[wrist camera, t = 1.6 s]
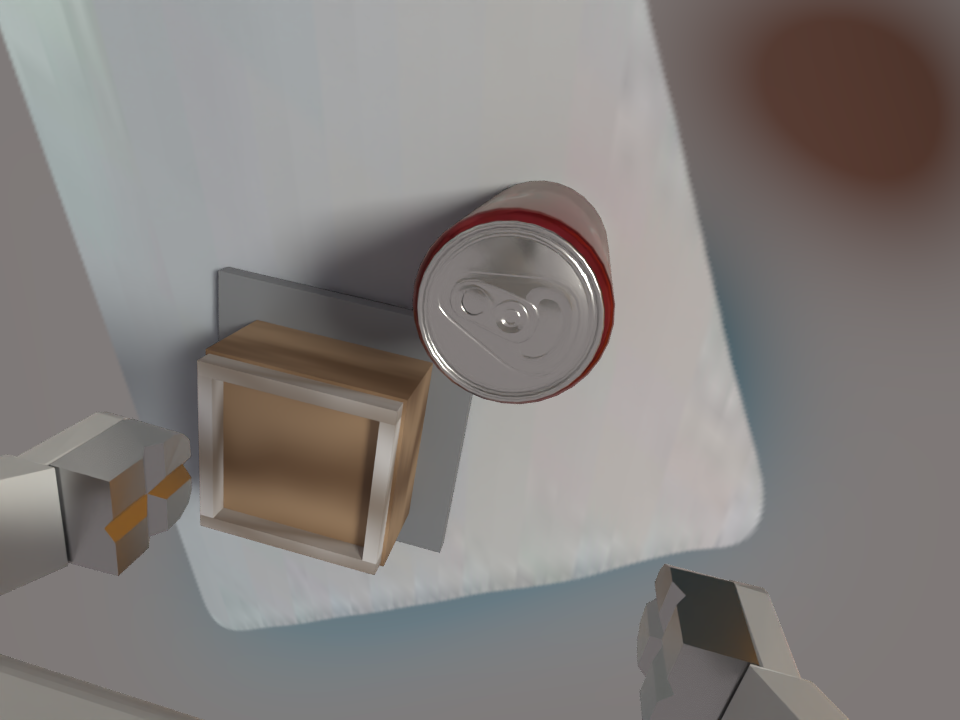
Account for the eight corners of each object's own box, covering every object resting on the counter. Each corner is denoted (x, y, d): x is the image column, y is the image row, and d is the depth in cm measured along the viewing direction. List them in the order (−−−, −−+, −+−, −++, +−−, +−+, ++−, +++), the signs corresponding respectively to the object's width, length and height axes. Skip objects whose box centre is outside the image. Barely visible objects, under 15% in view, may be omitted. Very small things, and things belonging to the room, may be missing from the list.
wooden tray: (256, 319, 34) (193, 356, 29) (433, 362, 33) (401, 409, 28) (253, 470, 39) (197, 527, 33) (408, 513, 38) (377, 578, 32)
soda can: (635, 220, 29) (658, 276, 19) (565, 337, 32) (550, 444, 22) (509, 153, 29) (458, 169, 18) (451, 276, 32) (377, 353, 21)
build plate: (228, 266, 35) (218, 270, 34) (485, 327, 33) (482, 333, 32) (227, 483, 41) (219, 491, 40) (443, 543, 39) (439, 552, 39)
